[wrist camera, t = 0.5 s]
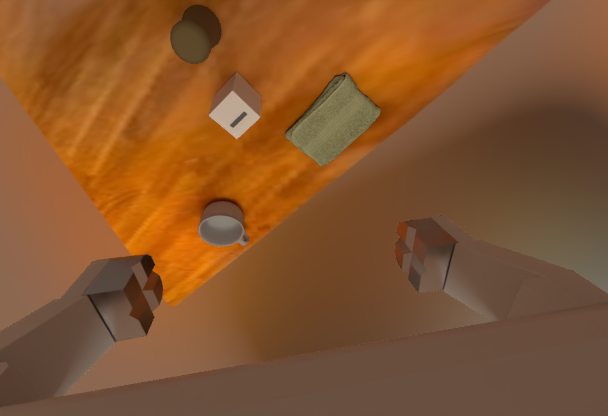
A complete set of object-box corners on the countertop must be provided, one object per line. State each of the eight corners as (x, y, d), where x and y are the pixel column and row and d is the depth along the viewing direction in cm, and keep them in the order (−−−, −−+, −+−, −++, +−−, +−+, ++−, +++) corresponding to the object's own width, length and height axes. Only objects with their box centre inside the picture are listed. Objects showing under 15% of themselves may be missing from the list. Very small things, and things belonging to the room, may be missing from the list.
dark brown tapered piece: (183, 44, 46) (167, 65, 38) (180, 0, 42) (160, 13, 34) (221, 52, 47) (212, 73, 39) (221, 9, 43) (212, 24, 35)
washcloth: (281, 133, 59) (282, 140, 57) (341, 66, 51) (345, 72, 49) (323, 164, 66) (325, 172, 64) (382, 109, 58) (387, 116, 56)
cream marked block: (236, 71, 49) (232, 90, 43) (260, 96, 53) (260, 117, 46) (214, 94, 52) (207, 116, 45) (239, 116, 55) (236, 139, 49)
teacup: (194, 205, 70) (187, 229, 64) (228, 188, 67) (225, 210, 62) (228, 235, 79) (225, 257, 73) (260, 220, 76) (259, 242, 71)
